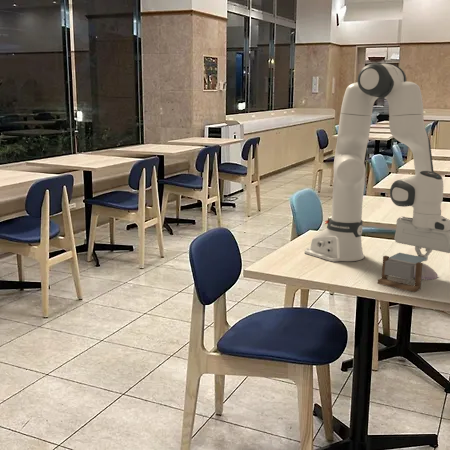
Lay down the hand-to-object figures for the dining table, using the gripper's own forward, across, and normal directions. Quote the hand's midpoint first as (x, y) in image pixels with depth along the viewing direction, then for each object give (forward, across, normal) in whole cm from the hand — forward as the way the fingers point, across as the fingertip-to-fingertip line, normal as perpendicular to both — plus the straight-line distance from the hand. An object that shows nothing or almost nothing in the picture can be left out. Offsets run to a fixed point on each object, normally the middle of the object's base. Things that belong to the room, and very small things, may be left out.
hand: (422, 260), depth 195 cm
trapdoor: (+2, 0, -12) cm, 13 cm away
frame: (+5, 0, -16) cm, 17 cm away
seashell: (+6, 0, 0) cm, 6 cm away
